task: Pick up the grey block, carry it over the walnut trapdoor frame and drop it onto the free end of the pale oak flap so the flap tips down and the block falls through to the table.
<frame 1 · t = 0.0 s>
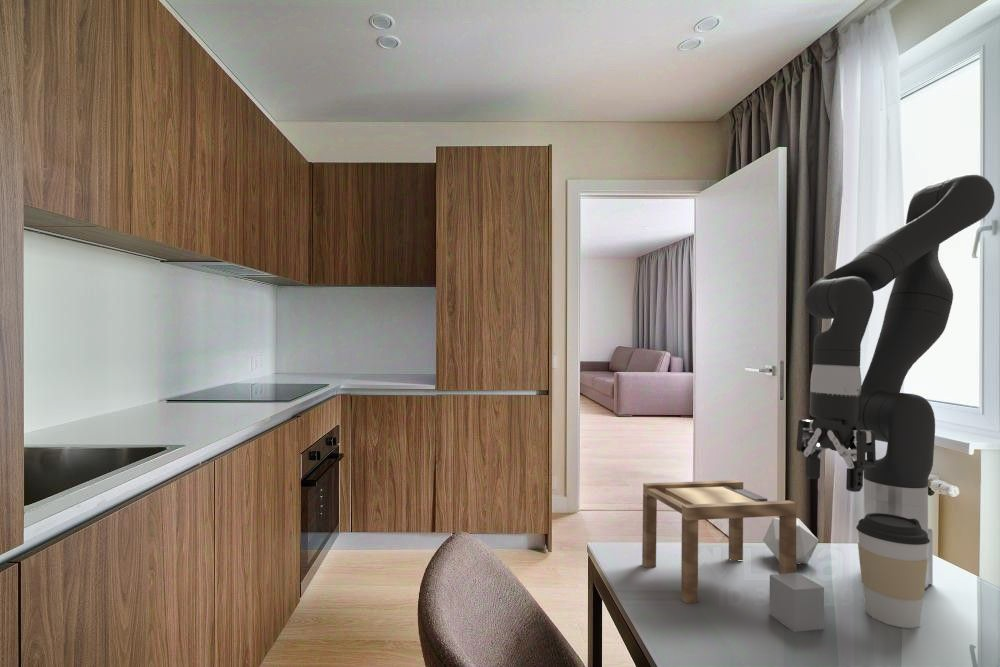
hand: (832, 484, 90), 17 cm above the table, tool pointing down, fingers open, 8 cm apart
frame: (714, 578, 91), on the table
grey block: (796, 621, 77), on the table
die: (790, 561, 100), on the table
coffee cup: (891, 617, 79), on the table
trapdoor: (718, 503, 92), point 13 cm above the table, hinge at 0.0°
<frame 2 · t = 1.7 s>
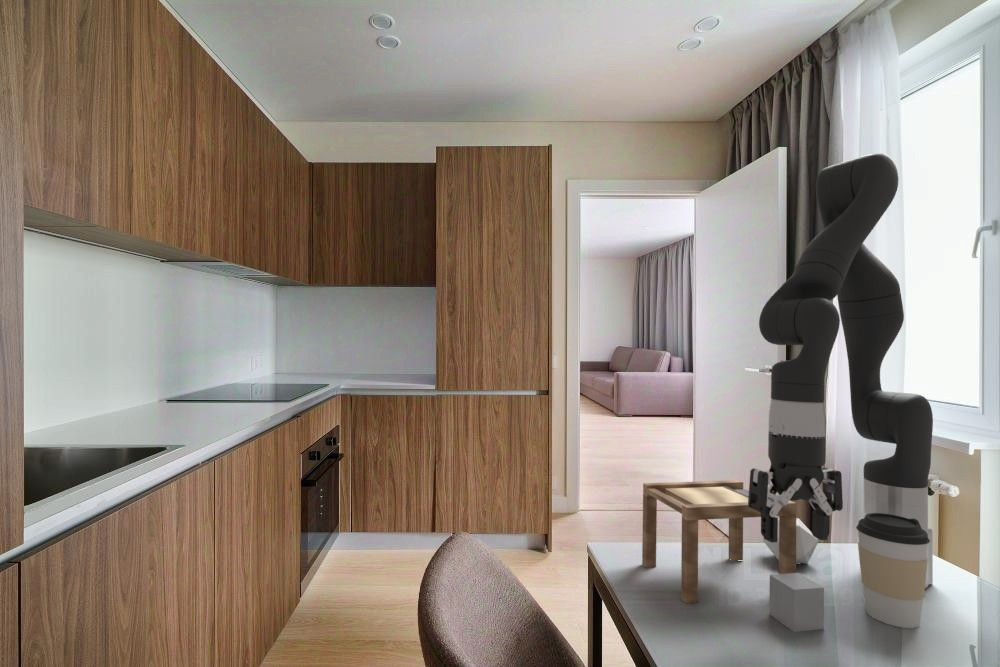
hand: (795, 539, 78), 12 cm above the table, tool pointing down, fingers open, 8 cm apart
nothing on the table moved.
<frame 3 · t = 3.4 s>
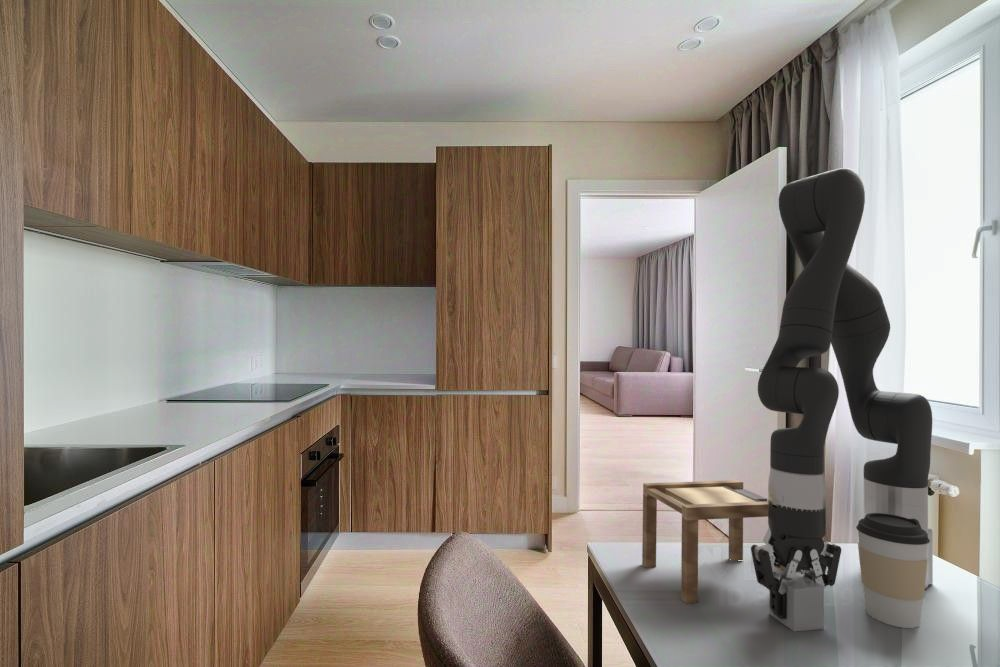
hand: (795, 614, 77), 1 cm above the table, tool pointing down, fingers closed on grey block, 5 cm apart
grey block: (795, 621, 77), on the table, touching gripper
everything else where it was.
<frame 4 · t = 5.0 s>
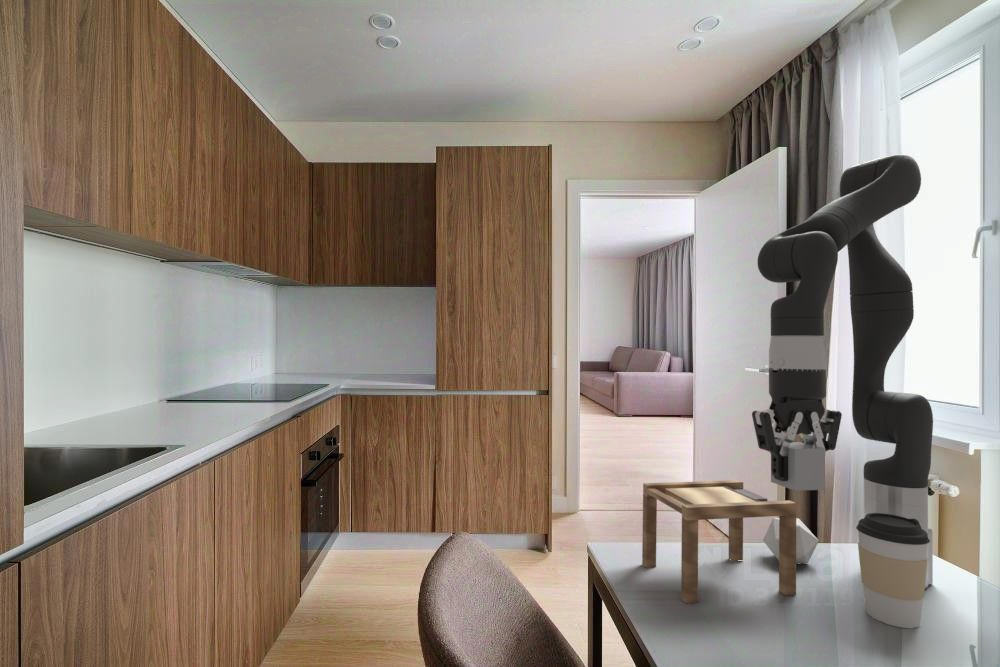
hand: (797, 478, 78), 21 cm above the table, tool pointing down, fingers closed on grey block, 5 cm apart
grey block: (797, 485, 78), point 20 cm above the table, touching gripper
everything else where it was.
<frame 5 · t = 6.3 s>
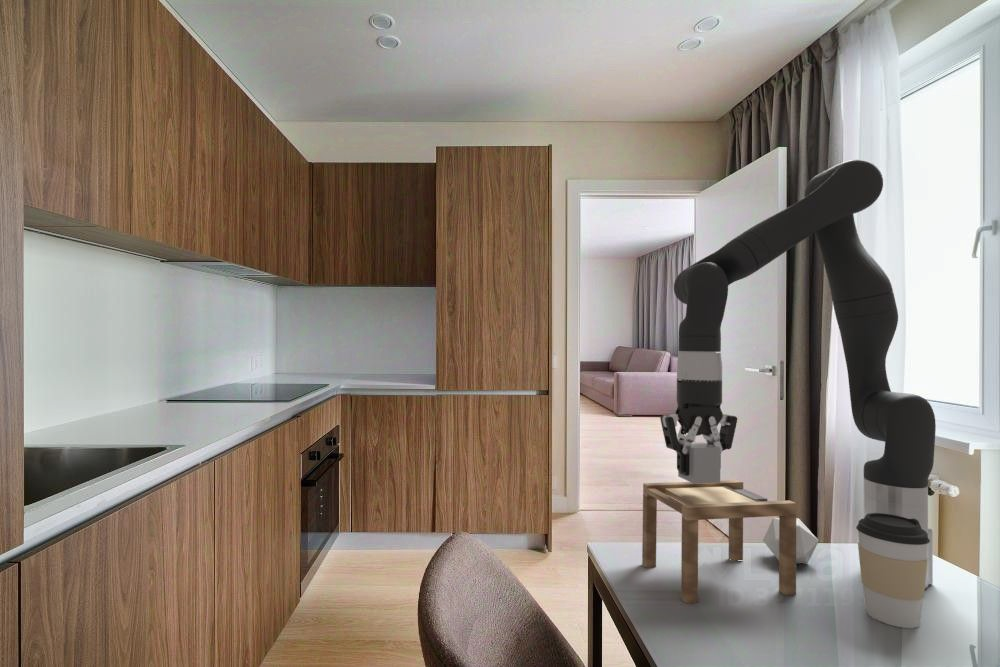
hand: (698, 473, 91), 18 cm above the table, tool pointing down, fingers closed on grey block, 5 cm apart
grey block: (698, 479, 91), point 17 cm above the table, touching gripper
everything else where it was.
when the fingers open (18 cm above the table, at t = 6.6 s): grey block drops 15 cm and tips over, point 2 cm above the table.
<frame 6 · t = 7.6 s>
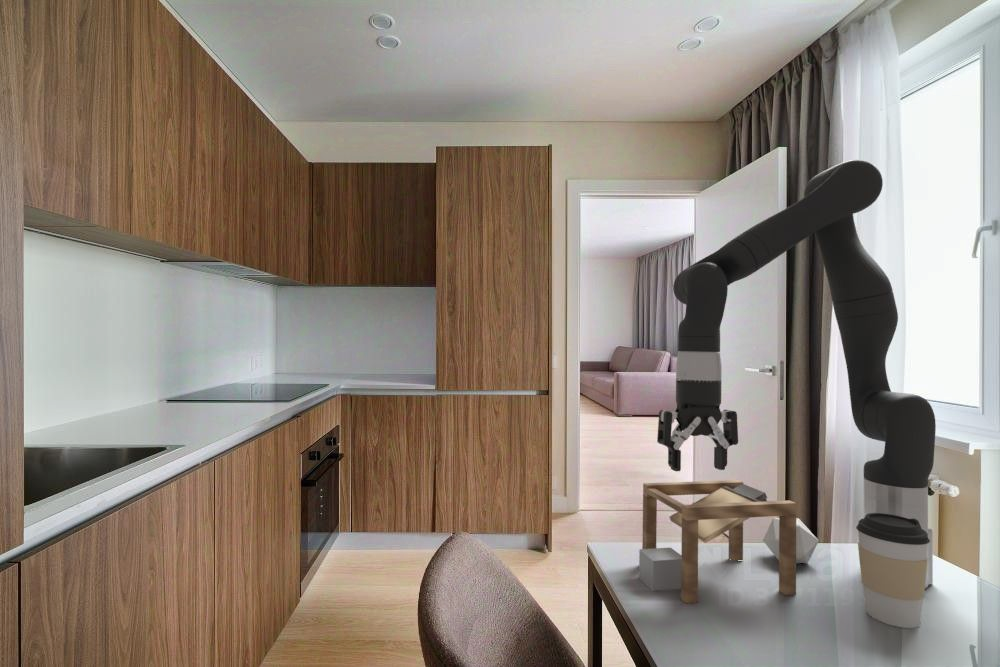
hand: (697, 469, 91), 19 cm above the table, tool pointing down, fingers open, 8 cm apart
grey block: (677, 567, 90), point 2 cm above the table, tilted 90°
trapdoor: (722, 513, 92), point 11 cm above the table, hinge at -24.9°
everything else where it was.
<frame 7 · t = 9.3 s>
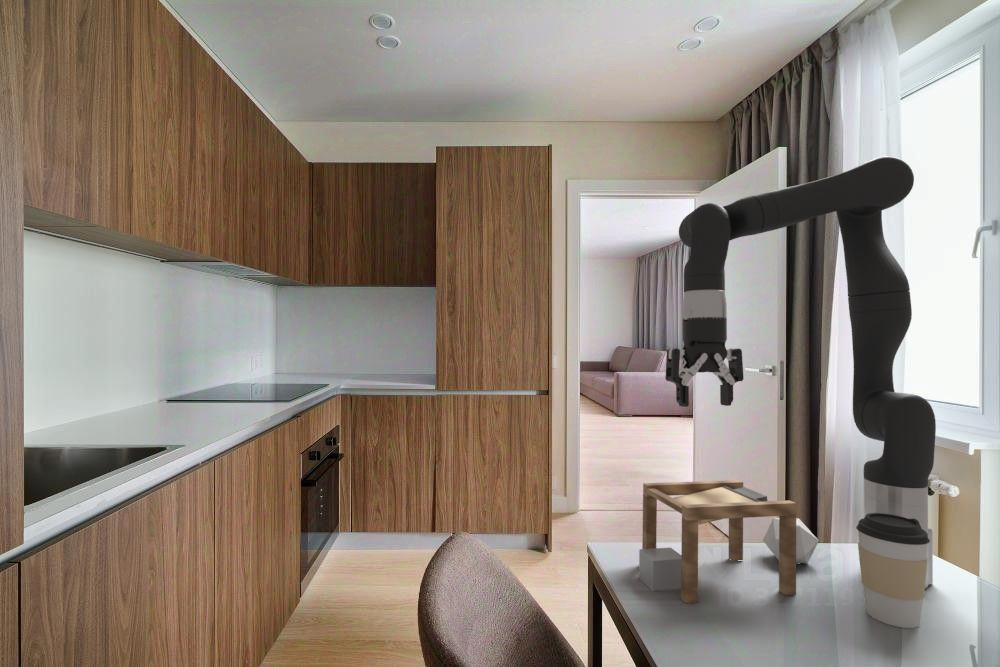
hand: (704, 405, 94), 30 cm above the table, tool pointing down, fingers open, 8 cm apart
trapdoor: (719, 507, 92), point 12 cm above the table, hinge at -9.5°
everything else where it was.
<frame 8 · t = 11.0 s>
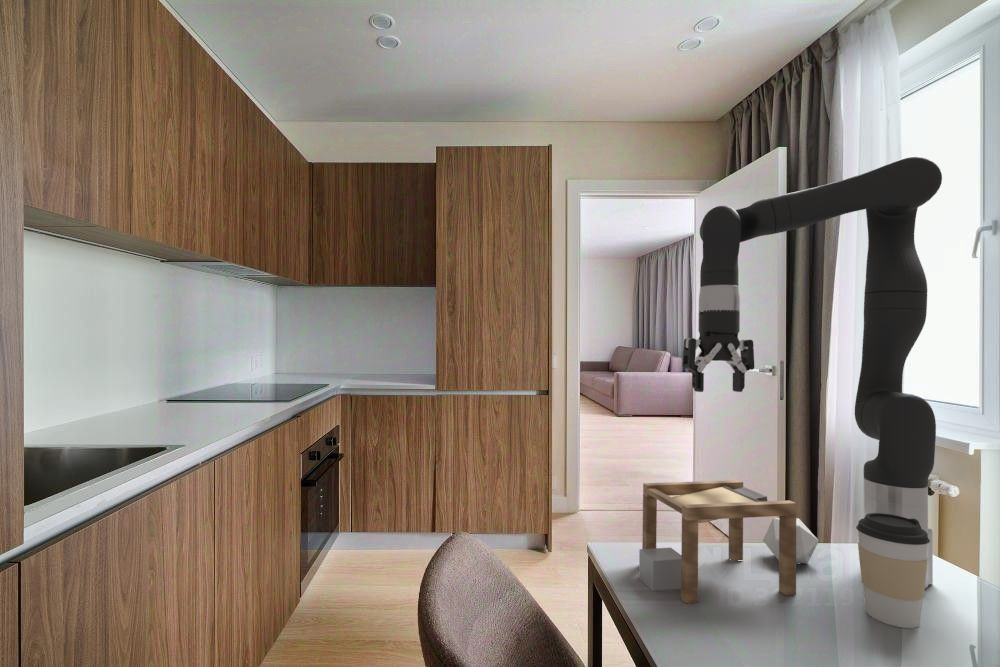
hand: (718, 391, 102), 32 cm above the table, tool pointing down, fingers open, 8 cm apart
trapdoor: (719, 507, 92), point 12 cm above the table, hinge at -8.6°
everything else where it was.
at the end: grey block point 2.3 cm above the table; grey block inside the target area (1.2 cm from its centre), point 2.3 cm above the table; the gripper is holding nothing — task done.
